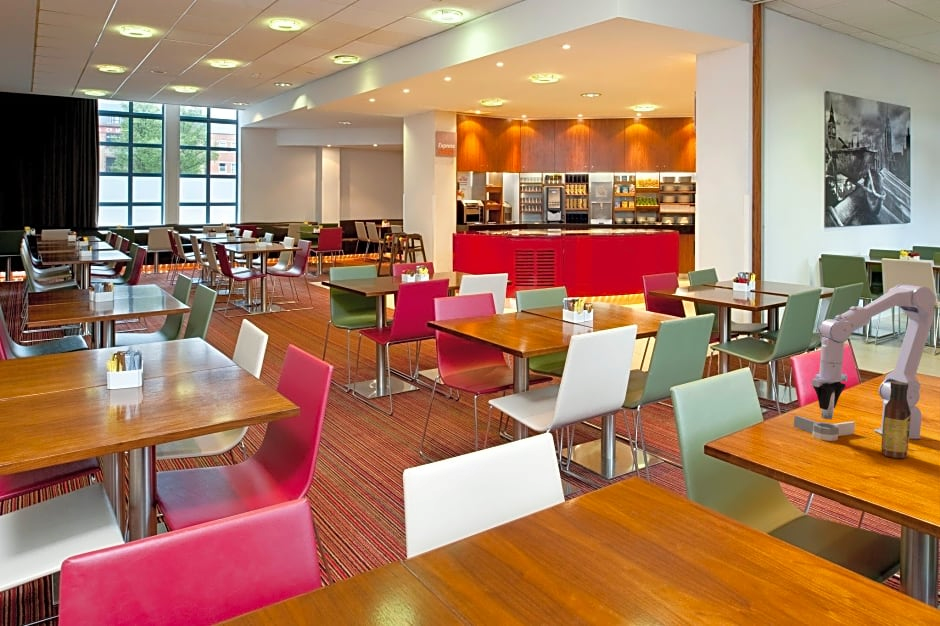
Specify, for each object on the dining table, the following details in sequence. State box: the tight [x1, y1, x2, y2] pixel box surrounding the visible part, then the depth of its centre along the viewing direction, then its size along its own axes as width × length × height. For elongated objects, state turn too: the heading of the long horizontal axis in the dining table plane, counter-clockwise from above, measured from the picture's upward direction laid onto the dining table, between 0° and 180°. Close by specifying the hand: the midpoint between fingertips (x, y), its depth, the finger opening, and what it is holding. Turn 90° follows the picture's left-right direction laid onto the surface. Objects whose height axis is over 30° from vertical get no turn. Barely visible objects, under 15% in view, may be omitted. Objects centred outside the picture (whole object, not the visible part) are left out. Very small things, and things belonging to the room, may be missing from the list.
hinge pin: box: [820, 391, 835, 420], centre depth 208 cm, size 3×3×8 cm
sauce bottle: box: [880, 381, 911, 459], centre depth 193 cm, size 7×6×20 cm
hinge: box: [793, 414, 856, 442], centre depth 214 cm, size 14×14×4 cm
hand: (827, 408), depth 208 cm, fingers closed on hinge pin, 3 cm apart
